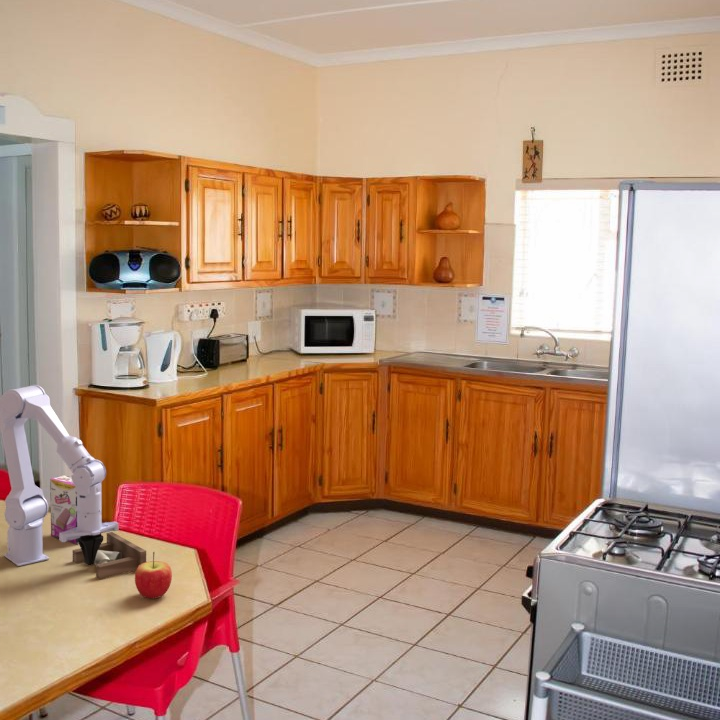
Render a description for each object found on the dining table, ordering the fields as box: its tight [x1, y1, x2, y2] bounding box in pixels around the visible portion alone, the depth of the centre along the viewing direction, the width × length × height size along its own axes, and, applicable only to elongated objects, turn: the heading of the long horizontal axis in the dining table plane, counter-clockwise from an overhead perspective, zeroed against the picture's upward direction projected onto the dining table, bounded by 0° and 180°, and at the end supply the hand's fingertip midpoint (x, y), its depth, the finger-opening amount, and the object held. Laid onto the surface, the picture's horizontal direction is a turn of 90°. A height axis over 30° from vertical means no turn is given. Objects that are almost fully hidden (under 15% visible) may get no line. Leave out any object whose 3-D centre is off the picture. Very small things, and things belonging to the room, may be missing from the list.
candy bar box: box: [49, 475, 79, 545], centre depth 231 cm, size 11×5×16 cm, turn 58°
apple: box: [134, 551, 173, 599], centre depth 195 cm, size 8×8×10 cm
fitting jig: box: [71, 531, 147, 580], centre depth 214 cm, size 18×12×5 cm, turn 43°
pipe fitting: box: [94, 550, 122, 566], centre depth 213 cm, size 8×4×7 cm
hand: (89, 563), depth 211 cm, fingers closed
